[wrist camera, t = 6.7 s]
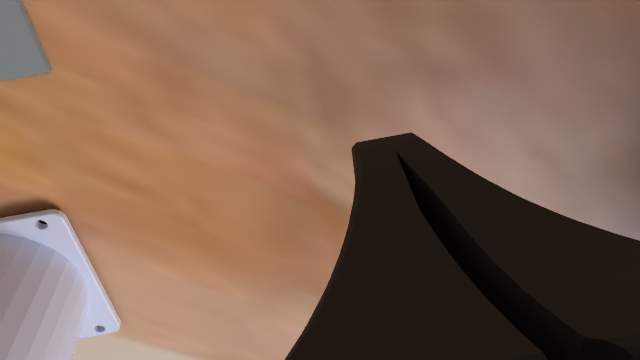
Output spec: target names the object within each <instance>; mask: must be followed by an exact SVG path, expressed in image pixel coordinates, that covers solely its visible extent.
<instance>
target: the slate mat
mask: <svg viewBox="0 0 640 360" xmlns="http://www.w3.org/2000/svg"><path fill="white" fill-rule="evenodd" d="M51 70H52V68H51V66H50V64H49V61H48V59H47V57H46V55H45V52H44V50H43V48H42V46H41V43H40V41H39V39H38V37H37V34H36V32H35V30H34V28H33V25H32V23H31V21H30V19H29V16H28V14H27V12H26V10H25V7H24V5H23V3H22V1H21V0H0V81H3V80H10V79H16V78H22V77H28V76H34V75H41V74H47V73H49V72H50V71H51Z"/></svg>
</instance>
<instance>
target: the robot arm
mask: <svg viewBox="0 0 640 360" xmlns="http://www.w3.org/2000/svg"><path fill="white" fill-rule="evenodd" d="M352 156H353V165H354V174H355V182H356V183H355V193H354V201H353V206H352V211H351V215H350V220H349V225H348V229H347V232H346V236H345V239H344V243H343V246H342V249H341V252H340V255H339V258H338V260H337V263H336V265H335V268H334V270H333V273H332V275H331V278H330V280H329V282H328V285H327V287H326V289H325V291H324V293H323V295H322V297H321V299H320V301H319V303H318V305H317V307H316V309H315V310H314V312H313V314H312V316H311V318H310V320H309V322H308V324H307V326H306V327H305V329H304V331H303V332H302V334H301V336H300V337H299V339H298V340H297V342H296V343H295V345H294V346H293V348H292V349H291V351H290V352H289V354H288V355H287V357H286V358H285V360H640V241H638V240H635V239H631V238H628V237H624V236H621V235H618V234H614V233H612V232H609V231H606V230H603V229H600V228H597V227H594V226H591V225H588V224H585V223H582V222H579V221H576V220H574V219H571V218H568V217H566V216H563V215H560V214H558V213H556V212H553V211H551V210H549V209H546V208H544V207H541V206H539V205H537V204H534V203H532V202H530V201H528V200H525V199H523V198H521V197H519V196H517V195H515V194H513V193H511V192H509V191H507V190H505V189H503V188H501V187H500V186H498V185H496V184H494V183H492V182H490V181H488V180H486V179H485V178H483V177H481V176H479V175H478V174H476V173H474V172H473V171H471V170H469V169H467V168H466V167H464V166H463V165H461V164H459V163H458V162H456V161H455V160H453V159H451V158H450V157H448V156H447V155H445V154H444V153H442V152H441V151H439V150H438V149H436V148H435V147H433V146H432V145H430V144H429V143H427V142H426V141H424V140H423V139H421V138H420V137H418V136H416V135H415V134H413V133H406V134H401V135H395V136H390V137H384V138H379V139H373V140H368V141H363V142H357V143H356V144H355V145H354V146H353V147H352ZM38 220H42V221H45V222H46V223H47V224H42V223H40V222H39V221H38ZM120 324H121V321H120V319H119V317H118V315H117V313H116V311H115V309H114V307H113V305H112V303H111V301H110V299H109V297H108V296H107V294H106V292H105V290H104V288H103V286H102V284H101V282H100V280H99V278H98V276H97V274H96V272H95V270H94V269H93V267H92V265H91V263H90V261H89V259H88V257H87V255H86V253H85V251H84V249H83V247H82V245H81V243H80V242H79V240H78V238H77V236H76V234H75V232H74V230H73V228H72V226H71V224H70V222H69V220H68V218H67V216H66V215H65V214H64V213H63V212H61V211H60V210H56V209H49V210H43V211H38V212H32V213H26V214H20V215H14V216H9V217H3V218H0V360H72V358H73V355H74V352H75V348H76V345H77V342H78V340H79V339H81V338H87V337H92V336H98V335H103V334H109V333H113V332H116V331H118V330H119V328H120Z"/></svg>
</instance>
